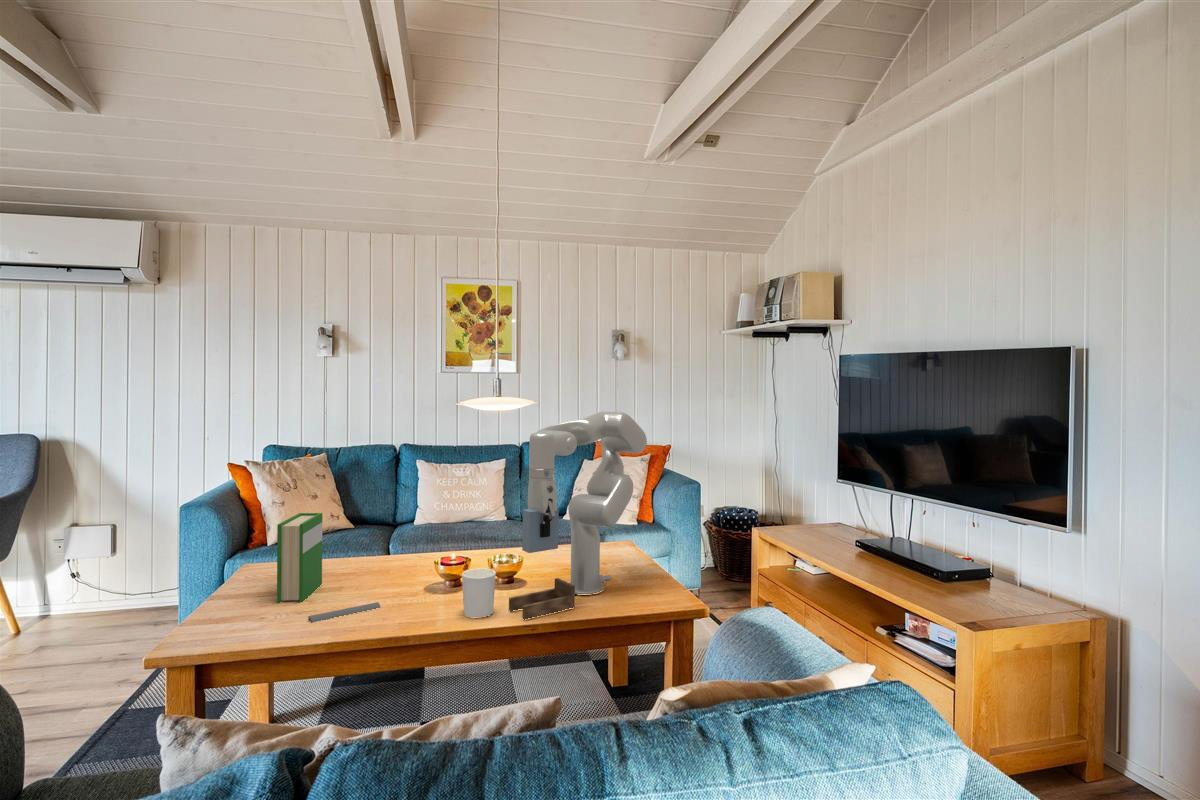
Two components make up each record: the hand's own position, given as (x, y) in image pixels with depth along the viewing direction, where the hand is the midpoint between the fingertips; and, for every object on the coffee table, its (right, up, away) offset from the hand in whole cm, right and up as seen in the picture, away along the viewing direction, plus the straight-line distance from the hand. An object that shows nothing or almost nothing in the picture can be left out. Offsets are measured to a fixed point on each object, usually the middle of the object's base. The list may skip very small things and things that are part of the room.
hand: (540, 534), depth 185 cm
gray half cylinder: (-57, -23, -4) cm, 61 cm away
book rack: (0, -23, 0) cm, 23 cm away
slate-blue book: (0, -4, 0) cm, 4 cm away
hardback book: (-78, -22, +13) cm, 82 cm away
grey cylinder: (-18, -23, -3) cm, 29 cm away
